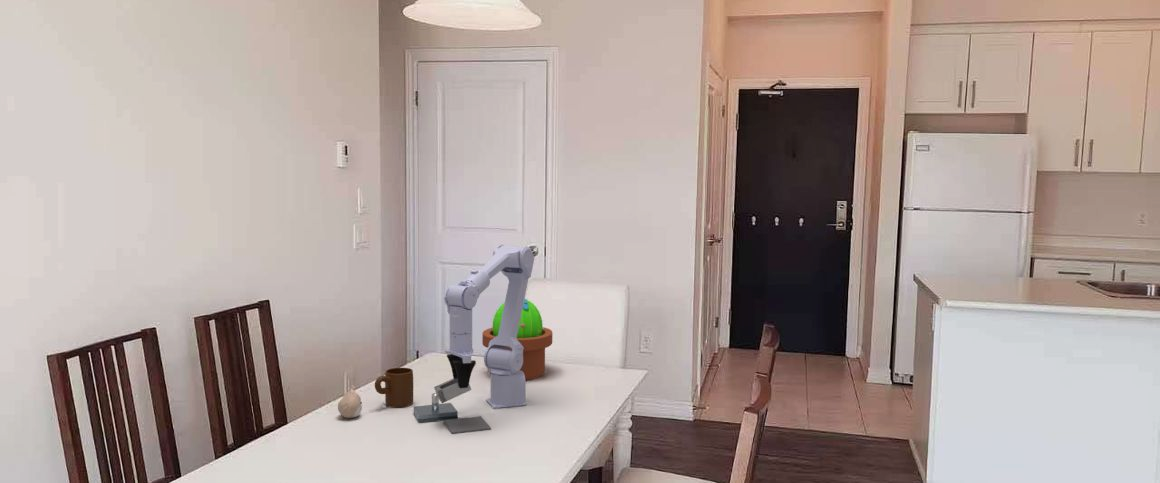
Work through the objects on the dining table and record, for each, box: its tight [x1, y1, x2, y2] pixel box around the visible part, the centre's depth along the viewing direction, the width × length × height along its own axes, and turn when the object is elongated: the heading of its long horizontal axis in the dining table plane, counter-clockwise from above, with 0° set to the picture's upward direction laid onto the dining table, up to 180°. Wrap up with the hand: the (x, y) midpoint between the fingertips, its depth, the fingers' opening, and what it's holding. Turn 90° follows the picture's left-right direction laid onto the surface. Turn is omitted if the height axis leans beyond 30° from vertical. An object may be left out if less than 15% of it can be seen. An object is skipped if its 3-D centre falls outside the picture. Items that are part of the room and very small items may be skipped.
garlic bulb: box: [337, 384, 363, 419], centre depth 207 cm, size 7×6×8 cm
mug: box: [374, 367, 414, 409], centre depth 217 cm, size 12×8×9 cm, turn 143°
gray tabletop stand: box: [433, 377, 472, 404], centre depth 202 cm, size 8×5×3 cm
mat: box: [442, 415, 492, 435], centre depth 201 cm, size 10×10×1 cm
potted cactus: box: [481, 298, 553, 381], centre depth 251 cm, size 22×22×25 cm
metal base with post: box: [413, 392, 459, 424], centre depth 208 cm, size 10×8×6 cm
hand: (461, 384), depth 203 cm, fingers closed on gray tabletop stand, 5 cm apart
